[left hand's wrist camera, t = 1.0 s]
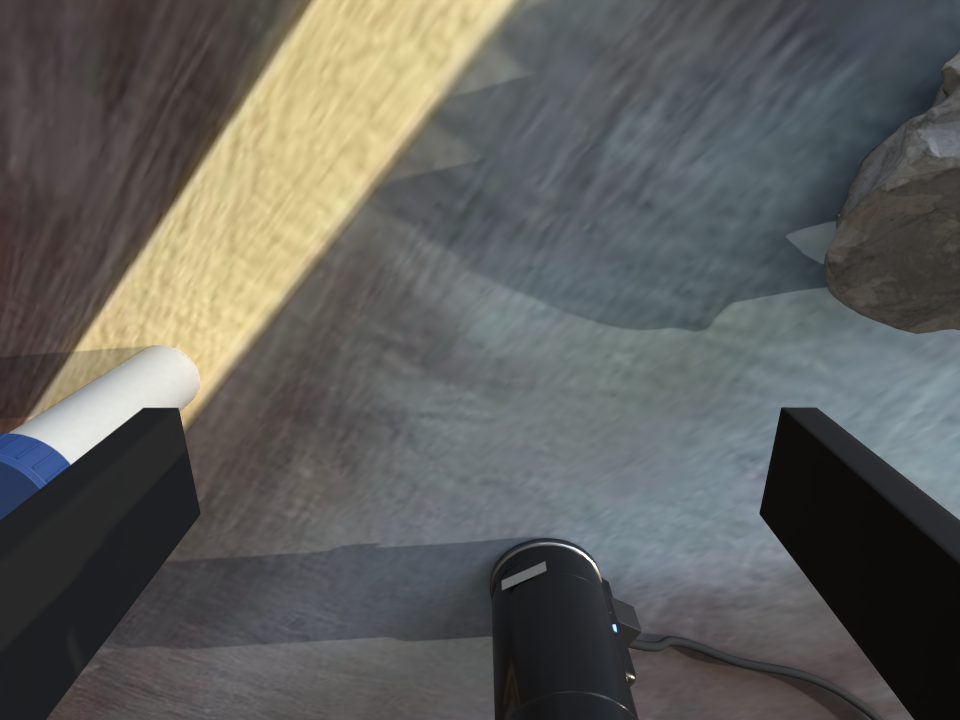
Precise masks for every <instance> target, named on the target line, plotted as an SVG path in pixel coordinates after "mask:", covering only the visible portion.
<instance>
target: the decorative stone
mask: <svg viewBox="0 0 960 720" xmlns="http://www.w3.org/2000/svg"><path fill="white" fill-rule="evenodd" d="M941 73H942V76H943V78H944V82H943V83H942V85H941V87H940V88H939V90H938V92H937V94H936V97H935V99H934V101H933V103H932V105H931V106H930V107H929V109H928V110H927V112H926V113H924V114H922V115H919V116H916V117H914V118H911V119H908V120H906V121H905V122H903V124H902V125H901V126H900V127H899V129H898V130H897V131H896V132H895V133H894V134H893V135H891V136H890V137H888V138H887V139H886V140H884V141H883V142H882V143H880V144H879V145H878V146H877V147H875V148H874V149H873V150H872V151H871V152H870V153H869V154H868V155H867V156H866V158H865V159H864V160H863V161H862V162H861V165H860V167H859V170H858V172H857V174H856V177H855V178H854V179H853V181H852V182H851V184H850V186H849V190H848V194H847V199H846V202H845V204H844V206H843V207H842V210H841V212H839V213H838V214H837V221H836V233H835V236H834V239H833V241H832V243H831V245H830V247H829V249H828V250H827V252H826V254H825V261H824V264H825V274H826V279H827V284H828V289H829V291H830V293H831V294H832V295H833V296H834V297H835V298H836V299H838V300H839V301H840V302H842V303H843V304H844V305H846V306H847V307H849V308H851V309H852V310H854V311H855V312H857V313H859V314H860V315H863V316H865V317H868V318H870V319H873V320H875V321H878V322H881V323H883V324H886V325H889V326H891V327H894V328H896V329H899V330H904V331H908V332H912V333H915V334H919V333H928V332H935V331H939V330H947V329H956V330H960V51H959V52H958V53H957V54H956V55H955V56H954V57H953V58H952V59H951V60H950V61H948V62H947V63H945V65H944V66H943V68H942V70H941Z"/></svg>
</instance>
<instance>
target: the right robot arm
mask: <svg viewBox="0 0 960 720" xmlns="http://www.w3.org/2000/svg"><path fill="white" fill-rule="evenodd" d="M490 593H491V599H492V634H493V670H494V706H495V720H639V719H638V715H637V712H636V708H635V705H634V701H633V697H632V694H631V690H630V687H631V686H632V685H633V684H634V683H635V680H636V675H635V671H634V667H633V664H632V660H631V657H630V654H629V650H628V648H633V649H638V650H643V651H653V652H655V651H662V650H664V649H665V648H667V647H668V646H670V645H673V646H680V647H685V648H689V649H692V650H695V651H698V652H700V653H703V654H705V655H708V656H710V657H713V658H715V659H718V660H721V661H723V662H726V663H729V664H732V665H735V666H739V667H743V668H747V669H752V670H757V671H762V672H768V673H774V674H780V675H786V676H790V677H794V678H798V679H802V680H805V681H808V682H810V683H813V684H816V685H818V686H821V687H823V688H825V689H827V690H829V691H831V692H833V693H835V694H836V695H838V696H840V697H841V698H843V699H845V700H846V701H848V702H849V703H851V704H852V705H853V706H855V707H856V708H858V709H859V710H860V711H862V712H863V713H864V714H866V715H867V716H868V717H869V718H870V719H872V720H883V719H882V718H881V717H880V716H879V715H877V714H876V713H875V712H874V711H873V710H872V709H871V708H869V707H868V706H867V705H865V704H864V703H863V702H861V701H860V700H859V699H857V698H856V697H854V696H853V695H851V694H850V693H848V692H847V691H845V690H843V689H842V688H840V687H838V686H836V685H835V684H833V683H831V682H828V681H826V680H824V679H822V678H819V677H817V676H815V675H812V674H809V673H806V672H804V671H800V670H797V669H793V668H789V667H784V666H779V665H773V664H767V663H761V662H756V661H751V660H746V659H742V658H738V657H735V656H731V655H728V654H726V653H723V652H720V651H717V650H715V649H712V648H710V647H707V646H705V645H702V644H700V643H697V642H694V641H691V640H688V639H684V638H680V637H673V636H667V637H665V638H663V639H661V640H660V641H658V642H647V641H641V640H636V638H637V636H638V635H639V634H640V633H641V628H640V625H639V622H638V619H637V616H636V613H635V610H634V607H633V606H630V605H628V604H626V603H623V602H621V601H619V600H617V599H614V598H613V596H612V592H611V589H610V585H609V582H608V581H606V580H604V579H603V578H601V575H600V572H599V569H598V566H597V564H596V562H595V561H594V559H593V558H592V557H591V556H590V555H589V554H588V553H587V552H586V551H585V550H584V549H582V548H581V547H579V546H577V545H575V544H573V543H571V542H568V541H564V540H560V539H550V538H546V539H536V540H531V541H527V542H524V543H522V544H519V545H517V546H515V547H514V548H512V549H511V550H509V551H508V552H507V553H505V554H504V555H503V556H502V557H501V558H500V560H499V561H498V562H497V564H496V565H495V567H494V569H493V572H492V575H491V580H490Z"/></svg>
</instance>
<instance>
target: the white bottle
mask: <svg viewBox="0 0 960 720" xmlns="http://www.w3.org/2000/svg"><path fill="white" fill-rule="evenodd" d="M199 387H200V377H199V373H198V370H197V368H196V366H195V364H194V363H193V362H192V360H191V359H190V358H189V357H188V356H186V355H185V354H184V353H182V352H181V351H179V350H177V349H175V348H172V347H168V346H152V347H149V348H146V349H144V350H143V351H141V352H140V353H138V354H136V355H135V356H133V357H131V358H130V359H128V360H127V361H125V362H123V363H122V364H120V365H118V366H117V367H115V368H114V369H112V370H110V371H109V372H107V373H105V374H104V375H102V376H101V377H99V378H97V379H96V380H94V381H92V382H91V383H89V384H88V385H86V386H84V387H83V388H81V389H79V390H78V391H76V392H75V393H73V394H71V395H70V396H68V397H66V398H65V399H63V400H62V401H60V402H58V403H57V404H55V405H53V406H52V407H50V408H49V409H47V410H45V411H44V412H42V413H40V414H39V415H37V416H36V417H34V418H32V419H31V420H29V421H27V422H26V423H24V424H23V425H21V426H19V427H18V428H16V429H14V430H13V431H11V432H10V434H21V435H25V436H29V437H32V438H35V439H38V440H40V441H42V442H44V443H46V444H48V445H49V446H51V447H52V448H54V449H55V450H57V451H58V452H59V453H60V454H61V455H63V456H64V457H65V459H66V460H67V461H68V462H69V463H70V464H72V463H74V462H75V461H76V460H78V459H79V458H80V457H81V456H83V455H84V454H85V453H86V452H88V451H89V450H90V449H92V448H93V447H94V446H95V445H97V444H98V443H99V442H100V441H102V440H103V439H104V438H106V437H107V436H108V435H109V434H111V433H112V432H113V431H114V430H116V429H117V428H118V427H119V426H121V425H122V424H123V423H125V422H126V421H127V420H128V419H130V418H131V417H132V416H133V415H135V414H136V413H137V412H139V411H140V410H141V409H142V408H179V411H181V410H182V409H183V408H184V407H185V406H186V405H187V404H188V403H190V402H191V401H192V400H193V399H194V398H195V396H196V395H197V393H198V391H199Z"/></svg>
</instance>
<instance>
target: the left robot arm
mask: <svg viewBox="0 0 960 720" xmlns="http://www.w3.org/2000/svg"><path fill="white" fill-rule="evenodd" d="M199 515H200V509H199V504H198V499H197V494H196V489H195V485H194V480H193V475H192V470H191V465H190V460H189V455H188V451H187V446H186V441H185V436H184V431H183V426H182V421H181V417H180V412H179V408H142V409H141V410H140V411H139V412H137V413H136V414H135V415H133V416H132V417H131V418H130V419H128V420H127V421H126V422H125V423H123V424H122V425H121V426H119V427H118V428H117V429H116V430H114V431H113V432H112V433H111V434H109V435H108V436H107V437H106V438H104V439H103V440H102V441H100V442H99V443H98V444H97V445H95V446H94V447H93V448H92V449H90V450H89V451H88V452H86V453H85V454H84V455H83V456H81V457H80V458H79V459H78V460H76V461H75V462H74V463H72V464H71V465H70V466H69V467H67V468H66V469H65V470H64V471H62V472H61V473H60V474H58V475H57V476H56V477H55V478H53V479H52V480H51V481H50V482H48V483H47V484H46V485H45V486H43V487H42V488H41V489H39V490H38V491H37V492H36V493H34V494H33V495H32V496H31V497H29V498H28V499H27V500H25V501H24V502H23V503H22V504H20V505H19V506H18V507H17V508H15V509H14V510H13V511H11V512H10V513H9V514H8V515H6V516H5V517H4V518H3V519H1V520H0V720H46V719H47V717H48V716H49V715H50V713H51V712H52V711H53V709H54V708H55V707H56V705H57V704H58V703H59V701H60V700H61V699H62V697H63V696H64V695H65V693H66V692H67V691H68V689H69V688H70V687H71V685H72V684H73V683H74V681H75V680H76V679H77V677H78V676H79V675H80V673H81V672H82V671H83V669H84V668H85V667H86V665H87V664H88V663H89V661H90V660H91V659H92V657H93V656H94V655H95V653H96V652H97V651H98V649H99V648H100V647H101V645H102V644H103V643H104V642H105V640H106V639H107V638H108V636H109V635H110V634H111V632H112V631H113V630H114V628H115V627H116V626H117V624H118V623H119V622H120V620H121V619H122V618H123V616H124V615H125V614H126V612H127V611H128V610H129V608H130V607H131V606H132V604H133V603H134V602H135V600H136V599H137V598H138V596H139V595H140V594H141V592H142V591H143V590H144V588H145V587H146V586H147V584H148V583H149V582H150V580H151V579H152V578H153V576H154V575H155V574H156V572H157V571H158V570H159V568H160V567H161V566H162V564H163V563H164V562H165V560H166V559H167V558H168V557H169V555H170V554H171V553H172V551H173V550H174V549H175V547H176V546H177V545H178V543H179V542H180V541H181V539H182V538H183V537H184V535H185V534H186V533H187V531H188V530H189V529H190V527H191V526H192V525H193V523H194V522H195V521H196V519H197V518H198V517H199ZM760 515H761V517H762V518H763V519H764V521H765V522H766V523H767V525H768V526H769V527H770V529H771V530H772V531H773V533H774V534H775V535H776V537H777V538H778V539H779V541H780V542H781V543H782V545H783V546H784V547H785V549H786V550H787V551H788V553H789V554H790V555H791V557H792V558H793V559H794V560H795V562H796V563H797V564H798V566H799V567H800V568H801V570H802V571H803V572H804V574H805V575H806V576H807V578H808V579H809V580H810V582H811V583H812V584H813V586H814V587H815V588H816V590H817V591H818V592H819V594H820V595H821V596H822V598H823V599H824V600H825V602H826V603H827V604H828V606H829V607H830V608H831V610H832V611H833V612H834V614H835V615H836V616H837V618H838V619H839V620H840V622H841V623H842V624H843V626H844V627H845V628H846V630H847V631H848V632H849V634H850V635H851V636H852V638H853V639H854V640H855V642H856V643H857V644H858V645H859V647H860V648H861V649H862V651H863V652H864V653H865V655H866V656H867V657H868V659H869V660H870V661H871V663H872V664H873V665H874V667H875V668H876V669H877V671H878V672H879V673H880V675H881V676H882V677H883V679H884V680H885V681H886V683H887V684H888V685H889V687H890V688H891V689H892V691H893V692H894V693H895V695H896V696H897V697H898V699H899V700H900V701H901V703H902V704H903V705H904V707H905V708H906V709H907V711H908V712H909V713H910V715H911V716H912V717H913V719H914V720H960V520H959V519H957V518H956V517H955V516H954V515H952V514H951V513H950V512H949V511H947V510H946V509H945V508H943V507H942V506H941V505H940V504H938V503H937V502H936V501H935V500H933V499H932V498H931V497H929V496H928V495H927V494H926V493H924V492H923V491H922V490H921V489H919V488H918V487H917V486H915V485H914V484H913V483H912V482H910V481H909V480H908V479H907V478H905V477H904V476H903V475H902V474H900V473H899V472H898V471H896V470H895V469H894V468H893V467H891V466H890V465H889V464H888V463H886V462H885V461H884V460H882V459H881V458H880V457H879V456H877V455H876V454H875V453H874V452H872V451H871V450H870V449H868V448H867V447H866V446H865V445H863V444H862V443H861V442H860V441H858V440H857V439H856V438H854V437H853V436H852V435H851V434H849V433H848V432H847V431H846V430H844V429H843V428H842V427H841V426H839V425H838V424H837V423H835V422H834V421H833V420H832V419H830V418H829V417H828V416H827V415H825V414H824V413H823V412H821V411H820V410H819V409H818V408H781V412H780V417H779V421H778V426H777V431H776V436H775V441H774V446H773V451H772V455H771V460H770V465H769V470H768V475H767V480H766V485H765V489H764V494H763V499H762V504H761V509H760Z"/></svg>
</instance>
